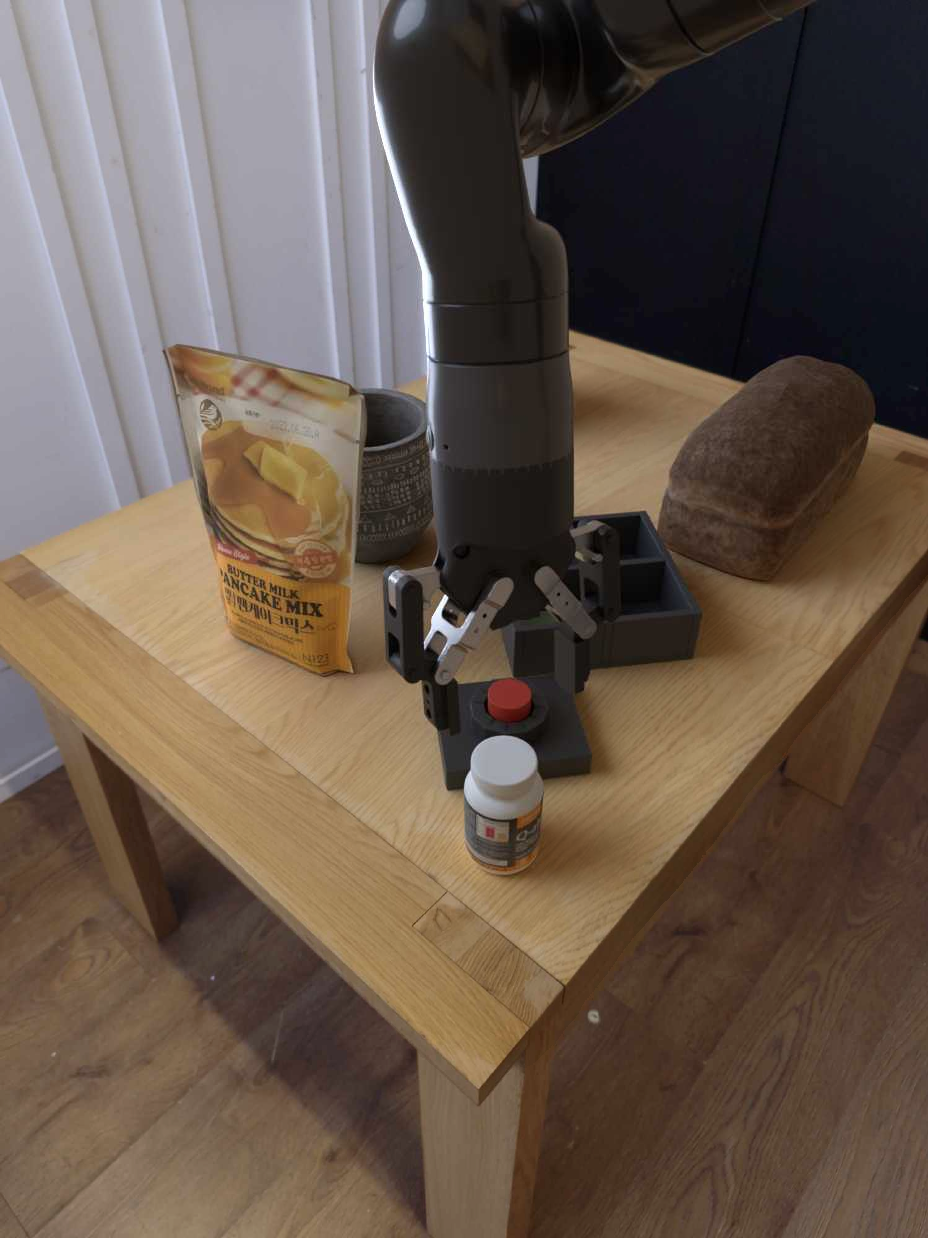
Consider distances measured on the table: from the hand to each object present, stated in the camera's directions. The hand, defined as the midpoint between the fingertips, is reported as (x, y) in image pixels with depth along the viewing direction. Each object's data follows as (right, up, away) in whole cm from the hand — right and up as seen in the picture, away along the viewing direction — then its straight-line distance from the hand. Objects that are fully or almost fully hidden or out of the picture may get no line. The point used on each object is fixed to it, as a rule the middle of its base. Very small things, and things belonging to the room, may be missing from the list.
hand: (510, 708), depth 53 cm
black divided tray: (+9, +6, +37) cm, 38 cm away
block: (+1, -5, +23) cm, 24 cm away
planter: (-13, +14, +47) cm, 51 cm away
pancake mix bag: (-20, +3, +34) cm, 39 cm away
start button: (+1, -2, +21) cm, 21 cm away
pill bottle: (0, -12, +15) cm, 19 cm away
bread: (+32, +18, +51) cm, 63 cm away
